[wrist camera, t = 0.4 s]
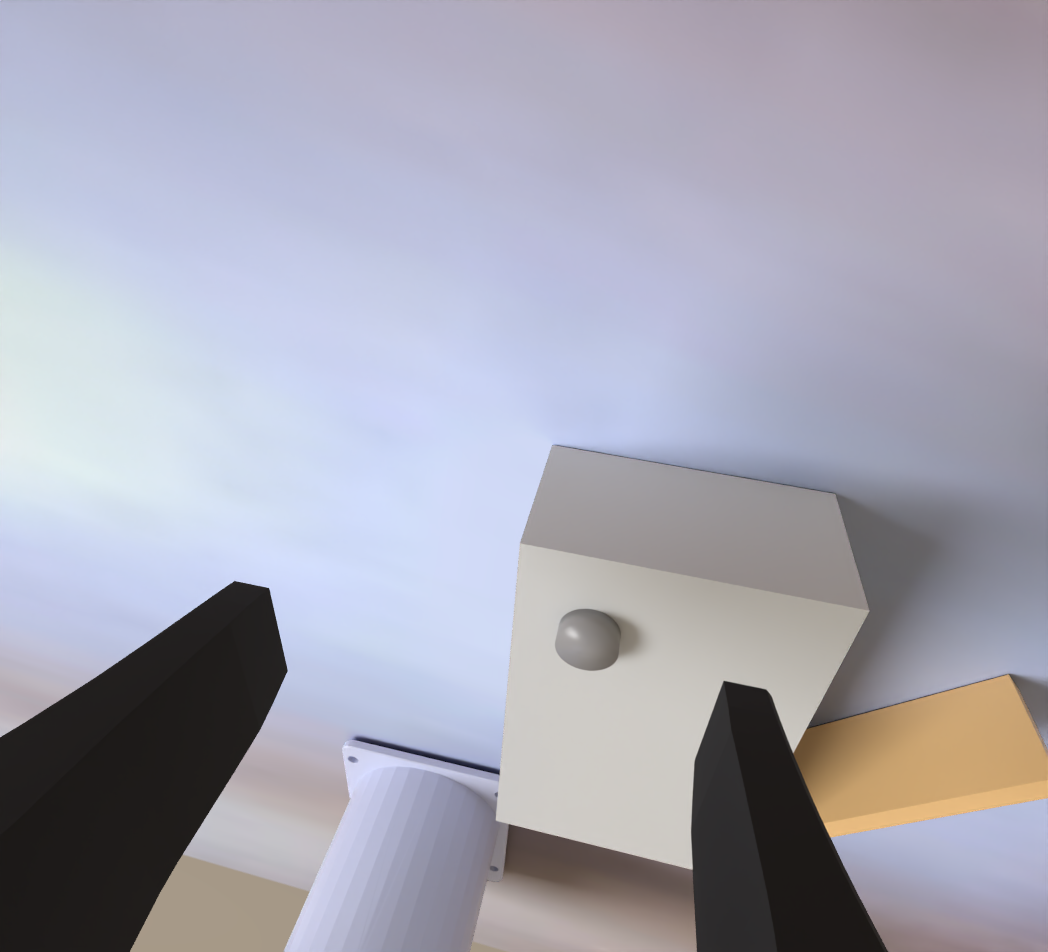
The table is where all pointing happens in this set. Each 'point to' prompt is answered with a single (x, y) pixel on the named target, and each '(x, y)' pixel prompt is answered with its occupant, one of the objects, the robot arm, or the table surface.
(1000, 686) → the side door
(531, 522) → the white knobbed box
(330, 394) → the table surface
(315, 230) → the table surface
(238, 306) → the table surface
